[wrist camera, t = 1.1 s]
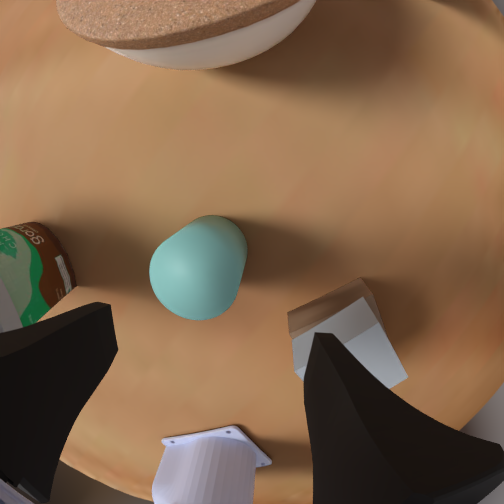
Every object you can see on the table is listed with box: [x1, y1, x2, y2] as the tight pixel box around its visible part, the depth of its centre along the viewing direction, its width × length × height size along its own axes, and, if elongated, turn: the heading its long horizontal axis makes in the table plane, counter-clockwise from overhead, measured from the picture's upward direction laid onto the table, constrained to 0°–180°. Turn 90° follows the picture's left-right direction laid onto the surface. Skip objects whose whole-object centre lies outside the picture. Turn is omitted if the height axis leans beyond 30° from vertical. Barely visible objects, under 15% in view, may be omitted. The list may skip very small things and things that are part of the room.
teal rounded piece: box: [149, 215, 248, 320], centre depth 16 cm, size 4×4×5 cm
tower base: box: [287, 277, 389, 340], centre depth 18 cm, size 6×6×3 cm
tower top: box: [292, 297, 408, 389], centre depth 15 cm, size 5×5×3 cm
